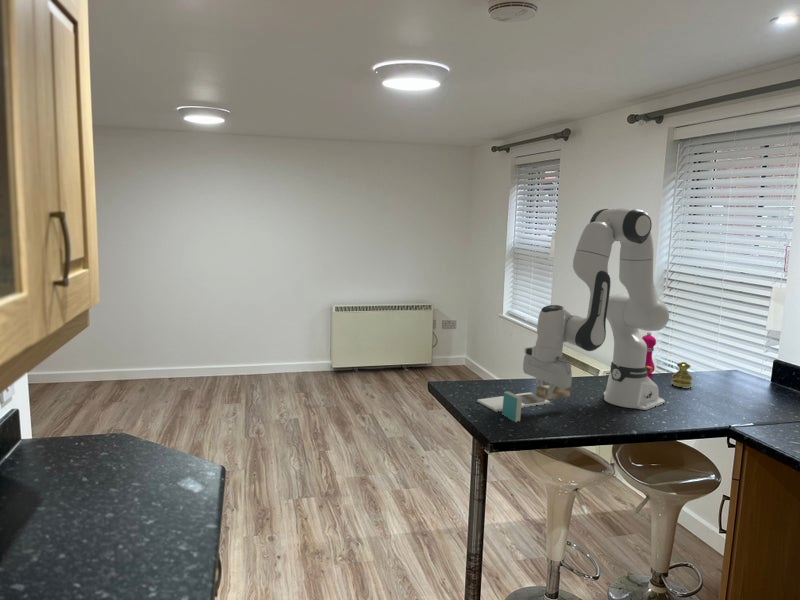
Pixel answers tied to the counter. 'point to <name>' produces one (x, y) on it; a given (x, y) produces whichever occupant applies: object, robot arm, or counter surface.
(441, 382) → the counter surface
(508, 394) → the tile
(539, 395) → the wooden handled scraper
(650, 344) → the pepper mill
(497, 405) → the board
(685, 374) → the gold ridged bell shape
